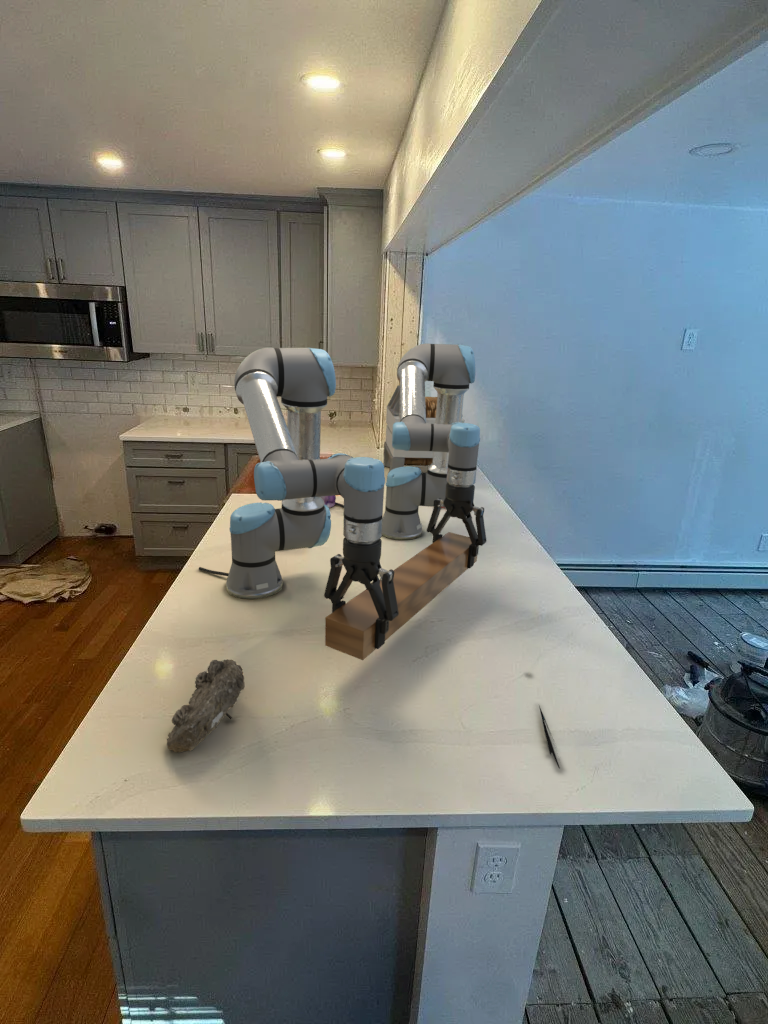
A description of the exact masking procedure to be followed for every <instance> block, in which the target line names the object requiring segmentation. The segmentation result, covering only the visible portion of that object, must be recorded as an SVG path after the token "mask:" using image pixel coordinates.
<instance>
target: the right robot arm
mask: <svg viewBox="0 0 768 1024" xmlns="http://www.w3.org/2000/svg"><path fill="white" fill-rule="evenodd" d="M396 378H397V380H398V382H399V385H400V416H399V422H395V423H394V424H393V431H392V447H393V448H394V449H397V450H405V451H432V452H433V462H432V464H431V465H430V466H429V465H428V466H427V471H426V472H422V469H421V468H420V467H419V466H407V465H404V467H399V468H395V469H393V470H391V471H390V470H389V471H388V473H387V475H386V481H385V486H386V488H385V489H386V490H385V504H384V505H385V507H384V508H385V509H384V512H383V521H382V537H385V538H387V539H389V540H395V541H410V540H415V539H418V538H420V537H421V536H422V535H423V524H422V523H421V518H420V515H419V507H433V508H432V512H431V515H430V518H429V522H428V524H427V527H426V532H427V533H429V534H431V535H432V542H431V544H432V543H434V542H435V541H437V540H438V539H439V538H441V537H442V536H443V534H441V533H442V530H443V529H444V527H445V526H446V525H447V523H448V522H449V520H450V519H451V518H456V519H459V520H461V521H462V524H464V526H465V529H466V532H467V534H468V537H470V540H471V543H472V544H471V545H469V554H468V564H467V568H468V570H469V569H472V567H473V566H474V565H475V563H474V557H476V556H477V557H478V555H479V549H480V546H481V547H482V546H484V545H485V544H486V543H487V534H486V527H485V518H484V514H485V507H483V506H481V507H479V506H476V505H475V503H474V500H475V499H474V498H475V489H476V487H475V484H476V480H477V468H478V467H477V466H478V457H479V448H480V442H481V428H480V426H478V425H477V424H474V423H469V422H464V423H461V420H462V419H463V408H464V398H465V397H464V396H465V393H466V392H467V391H469V389H470V384H474V383H475V382H476V357H475V353H474V349H473V348H472V347H471V346H470V345H465V344H464V345H463V344H453V343H452V344H449V343H448V344H447V343H446V344H445V343H444V344H443V343H427V342H426V343H425V342H424V343H419V344H418V345H415V346H413V347H411V348H410V349H409V350H408V351H406V352H405V354H404V355H402V357H401V358H400V360H399V362H398V364H397V368H396ZM426 382H433V385H432V386H433V387H432V388H433V389H434V390H435V391H436V393H437V395H436V397H437V408H436V421H435V424H428V423H426V404H425V397H426ZM335 505H336V506H338V507H341V508H343V509H344V504H342V503H339V502H336V501H335ZM441 507H445V508H444V509H445V513H444V514H443V516H442V517H441V519H440V520H439V516H440V513H441V510H442V508H441ZM472 512H473V515H474V516H475V517H474V519H475V523H474V521H473V516H472ZM438 520H439V522H438ZM437 522H438V524H437ZM474 524H475V525H476V527H475V525H474Z"/></svg>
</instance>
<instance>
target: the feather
mask: <svg viewBox="0 0 768 1024" xmlns="http://www.w3.org/2000/svg"><path fill="white" fill-rule="evenodd" d="M528 675H529V676H530V673H528ZM538 708H539V712H540V716H541V721H542V726H543V731H544V735H545V739H546V743H547V747H548V750H549V755H552V756H553V758H554V760H555V761H554V762H555V763H556V765H557V767H558V769H560V768H561V767H560V765H559V762H558V759H557V756H558V755H556V753H555V752H556V751H555V750H557V749H558V748H557V746H556V745H555V744H552V743H553V742H554V741H555V739H554V737H553V736H550V734H552V733H551V731H550V727H549V725H548V723H547V721H546V718H545V716H544V713H543V711H542V708H541V706H540V705H538ZM554 749H555V750H554ZM558 757H559V756H558Z"/></svg>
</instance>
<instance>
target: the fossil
mask: <svg viewBox="0 0 768 1024" xmlns="http://www.w3.org/2000/svg"><path fill="white" fill-rule="evenodd" d="M243 670H244V669H243V667H242V665H240V664H237V662H236V661H235V660H234V659H232V658H231V659H227V658H226V659H224V660H223V661H222V660H217V659H212V660H211V661H210V663H209V665H208V666H207V671H201V672H199V673H198V674H197V675H196V676H195V680H194V684H195V685H194V687H195V689H194V690H193V693H192V694H191V697H190V698H189V700H188V704H184V705H182V706H181V707H180V709H177V710H176V711H175V713H174V715H173V716H172V718H171V723H172V724H173V727H172V730H171V731H170V732H168V734H167V738H166V741H167V742H166V745H167V749H168V750H169V751H173V752H174V753H176V754H178V753H182V752H188V751H189V752H192V751H193V750H195V748H196V747H197V746H199V744H200V743H201V742H203V741H204V740H205V739H206V738H207V737H208V736H209V735H210V734H211V733H212V732H214V730H215V729H217V727H218V726H219V724H220V722H221V721H222V720H223V719H224V718H225V716H226V717H227V719H229V720H233V717H232V715H230V714H229V710H230V709H231V708H234V706H235V704H236V703H237V702H238V699H239V697H240V695H241V693H242V691H243V690H245V689H244V688H245V675H244V671H243Z"/></svg>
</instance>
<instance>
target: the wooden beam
mask: <svg viewBox="0 0 768 1024" xmlns="http://www.w3.org/2000/svg"><path fill="white" fill-rule="evenodd" d="M471 544H472V543H471V540H470V537H469V536H467V535H463V534H458V533H456V532H455V533H454V532H450V531H448V532H447V533H445V534H444V535H442V537H441V538H439V539H438V540H437V541H435V542H434V543H432V542H431V544H429V545H428V546H427V547H425V548H423V549H422V550H420V551H419V552H418V553H416V554H414V555H413V556H412V557H411V558H409V559H408V560H406V561H404V562H403V563H402V564H400V565H399V566H398V567H396V568H394V569H392V570H393V571H394V579H393V583H394V588H395V594H396V600H397V606H398V612H399V615H398V616H397V617H396V618H394V619H393V620H392V621H389V631H388V632H387V633H386V634H385V642H386V641H387V640H388V639H390V638H391V637H392V636H393V635H394V634H395V633H396V632H397V631H399V630H400V629H401V628H402V627H403V626H404V625H405V624H406V623H408V622H409V621H410V620H411V619H412V618H414V617H415V615H417V614H418V613H420V611H421V610H423V609H424V608H425V607H426V606H427V605H428V604H429V603H431V602H432V601H433V600H434V599H436V597H438V596H439V595H440V594H441V593H442V592H443V591H444V590H445V589H447V588H448V587H449V586H450V585H452V583H453V582H455V581H456V580H457V579H458V578H459V577H460V576H462V575H463V574H464V573H465V572H466V571H467V570H469V568H467V564H468V554H469V545H471ZM477 561H478V555H477V556H476V557H474V564H475V563H477ZM379 580H380V579H379ZM380 587H381V590H382V581H381V580H380ZM382 592H383V590H382ZM377 618H379V616H378V613H377V611H376V608H375V606H374V603H373V601H372V598H371V595H370V593H369V591H368V590H367V589H366V588H365V589H364V590H363V591H361V592H360V593H359V594H357V595H356V596H353V598H351V599H350V600H348V601H347V602H346V604H344V605H343V606H341V607H340V608H338V609H337V610H335V611H334V612H333V613H332V612H331V613H330V614H328V615H327V616H325V618H324V624H325V626H324V646H325V647H327V648H330V649H333V650H335V651H338V652H340V653H343V654H345V655H348V656H350V657H353V658H356V659H357V660H360V661H364V660H365V659H367V658H368V657H369V656H370V655H371V654H372V653H374V652H375V651H376V650H377V649H376V648H375V629H376V619H377Z"/></svg>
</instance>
